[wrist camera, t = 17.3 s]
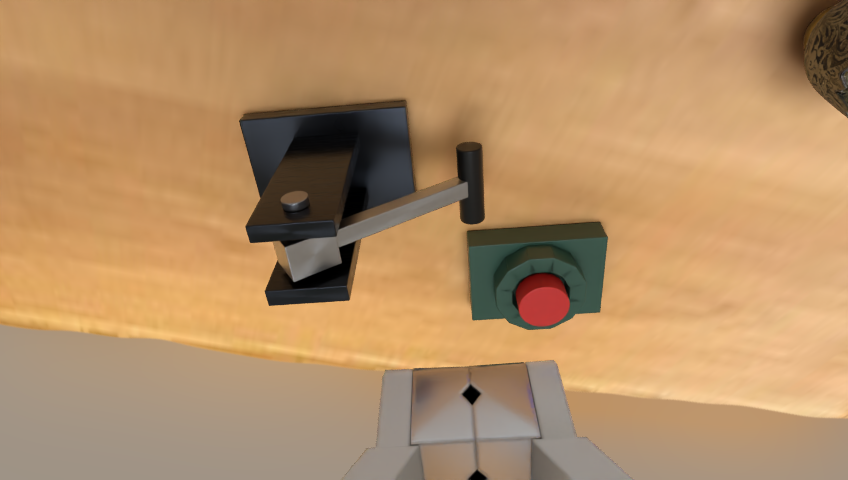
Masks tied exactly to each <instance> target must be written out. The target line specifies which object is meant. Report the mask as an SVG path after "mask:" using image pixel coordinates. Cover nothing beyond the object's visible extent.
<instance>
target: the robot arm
mask: <svg viewBox="0 0 848 480" xmlns="http://www.w3.org/2000/svg"><path fill="white" fill-rule="evenodd" d="M379 409H380V410H379V419H378V429H377V439H376V440H377V441H376V448H367V449H366V450H365V451H364V453H363V454H362V455H361V456H360V457H359V459H358V460H357V461H356V462H355V463H354V465H353V466H352V467H351V468H350V470H349V471H348V472H347V473H346V474H345V476H344V477H343V478H342V479H341V480H634V479H633V478H631V477H630V476H629V475H628V474H627V473H626V472H625V471H624V470H623V469H621V468H620V467H619V466H618V465H617V464H616V463H615V462H614V461H613V460H611V459H610V458H609V457H608V456H607V455H606V454H605V453H604V452H602V451H601V450H600V449H599V448H598V447H597V446H596V445H595V444H594V443H592V442H591V441H590V440H589V439H588V438H587V437H577V435H576V431H575V427H574V424H573V420H572V416H571V413H570V410H569V406H568V402H567V399H566V395H565V391H564V387H563V384H562V380H561V377H560V373H559V369H558V366H557V364H556V362H555V361H554V360H549V361H534V362H525V363H524V362H521V363H506V364H492V365H477V366H469V367H442V368H414V369H401V370H385V372H384V375H383V378H382V388H381V398H380V408H379Z"/></svg>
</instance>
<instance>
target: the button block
mask: <svg viewBox="0 0 848 480" xmlns="http://www.w3.org/2000/svg"><path fill="white" fill-rule="evenodd" d="M607 240H608V237H607V235H606V233H605V231H604V229H603V227H602V225H601V223H600V222H591V223H577V224H563V225H550V226H536V227H522V228H508V229H494V230H480V231H467V244H468V262H469V280H470V299H471V310H472V320H487V319H503V318H505V319H506V320H507V321H508V322H509V323H511V324H514V325H517V326H519V327H522V328H525V329H527V330H528V329H529V330H535V329H551V328H553V327H555V326H557V325H559V324H561V323H564V322H566V321H568V320H570V319H571V318H573V316H574V315H575V314H582V313H597V312H600V308H601V298H602V288H603V279H604V269H605V259H606V250H607ZM537 273H549V274H552V275H555V276H556V277H558V278H559V279H560V280H561V281H562V282H563V284H564V286H565V289H566V292H567V295H568V298H569V302H570V307H569V310H568V313H567V314H566V316H565V317H564V318H563V319H562V320H560V321H559V322H557V323H555V324H553V325H549V326H534V325H531V324H529V323H527V322H526V321H524V320H523V319H522V317H521V316H520V314H519V310H518V305H517V301H516V289H517V287H518V285H519V284H520V283H521V281H523V280H524V279H525V278H526V277H528V276H530V275H533V274H537Z"/></svg>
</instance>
